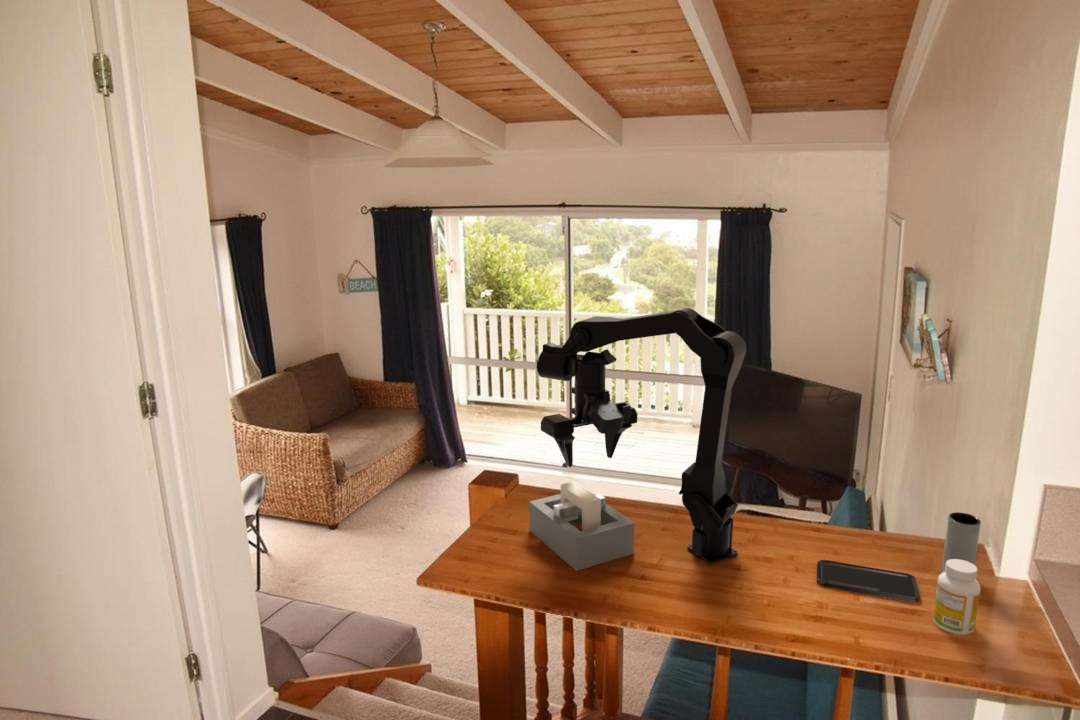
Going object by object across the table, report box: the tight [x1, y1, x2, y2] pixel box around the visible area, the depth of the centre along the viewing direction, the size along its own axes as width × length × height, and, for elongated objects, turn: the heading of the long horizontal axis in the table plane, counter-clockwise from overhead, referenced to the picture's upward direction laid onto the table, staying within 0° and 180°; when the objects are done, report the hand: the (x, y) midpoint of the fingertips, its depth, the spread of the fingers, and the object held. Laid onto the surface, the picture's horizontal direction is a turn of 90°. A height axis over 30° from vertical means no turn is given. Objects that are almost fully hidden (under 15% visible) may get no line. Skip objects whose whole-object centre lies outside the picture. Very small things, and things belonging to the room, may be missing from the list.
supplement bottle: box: [932, 559, 981, 636], centre depth 103 cm, size 5×5×10 cm
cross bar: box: [554, 493, 607, 520], centre depth 128 cm, size 10×2×2 cm, turn 119°
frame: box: [528, 493, 635, 572], centre depth 129 cm, size 12×17×6 cm
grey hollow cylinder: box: [941, 512, 982, 574], centre depth 116 cm, size 4×4×10 cm
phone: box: [816, 559, 920, 603], centre depth 115 cm, size 8×1×15 cm
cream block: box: [560, 480, 601, 531], centre depth 128 cm, size 3×9×7 cm, turn 29°
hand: (589, 461), depth 136 cm, fingers open, 9 cm apart
